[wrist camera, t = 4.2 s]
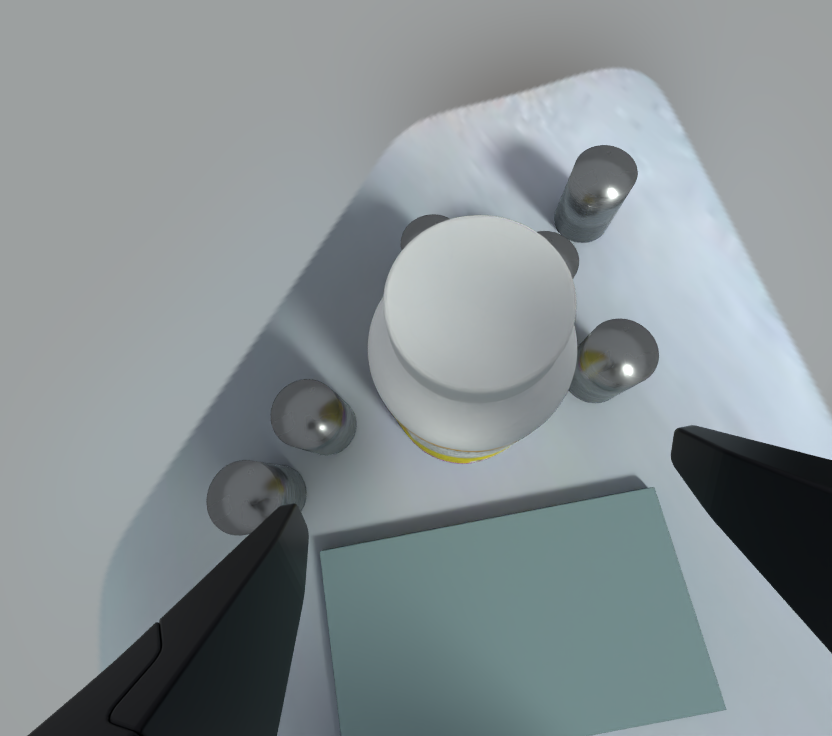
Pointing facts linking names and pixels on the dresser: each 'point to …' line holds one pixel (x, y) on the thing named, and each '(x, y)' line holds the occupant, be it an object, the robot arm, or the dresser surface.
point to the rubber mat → (518, 626)
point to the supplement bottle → (474, 337)
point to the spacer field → (335, 420)
